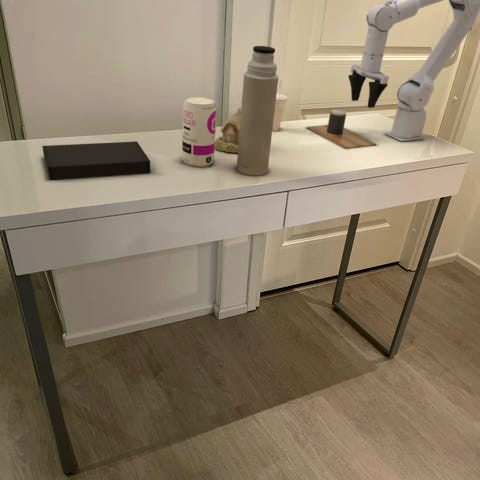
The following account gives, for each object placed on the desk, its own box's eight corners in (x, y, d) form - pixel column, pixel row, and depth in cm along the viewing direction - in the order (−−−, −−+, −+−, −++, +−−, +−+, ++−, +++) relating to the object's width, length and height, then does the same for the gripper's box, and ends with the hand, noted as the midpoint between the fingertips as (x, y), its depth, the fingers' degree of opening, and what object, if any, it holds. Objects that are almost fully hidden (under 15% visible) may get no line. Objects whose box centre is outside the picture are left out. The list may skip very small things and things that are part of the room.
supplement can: (218, 159, 132) (221, 99, 123) (206, 169, 126) (209, 107, 116) (190, 154, 134) (191, 94, 125) (177, 163, 127) (177, 101, 118)
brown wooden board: (335, 125, 166) (336, 124, 166) (376, 145, 153) (376, 143, 152) (306, 128, 161) (306, 126, 161) (345, 148, 148) (345, 147, 147)
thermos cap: (336, 129, 161) (339, 108, 158) (345, 133, 158) (350, 113, 154) (323, 130, 159) (327, 109, 155) (333, 135, 156) (337, 114, 152)
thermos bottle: (230, 167, 128) (238, 44, 111) (251, 161, 133) (263, 42, 116) (252, 177, 124) (264, 51, 107) (274, 171, 129) (289, 49, 112)
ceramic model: (230, 135, 149) (232, 99, 143) (264, 143, 145) (268, 107, 139) (207, 148, 138) (209, 110, 132) (244, 157, 135) (248, 118, 129)
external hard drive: (150, 173, 121) (150, 160, 119) (49, 180, 113) (47, 167, 111) (137, 152, 131) (136, 141, 129) (43, 157, 123) (41, 145, 122)
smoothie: (283, 132, 155) (290, 84, 146) (263, 131, 155) (268, 82, 146) (282, 126, 160) (288, 79, 151) (262, 124, 160) (267, 77, 151)
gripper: (346, 49, 147) (337, 98, 155) (379, 59, 137) (368, 111, 145) (365, 48, 150) (355, 96, 158) (398, 59, 140) (386, 109, 148)
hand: (362, 103), depth 152 cm, fingers open, 7 cm apart
